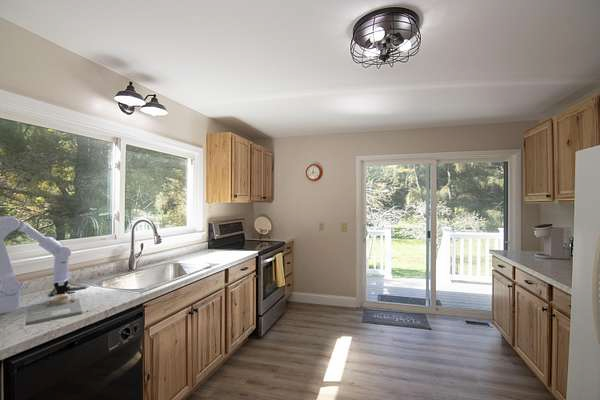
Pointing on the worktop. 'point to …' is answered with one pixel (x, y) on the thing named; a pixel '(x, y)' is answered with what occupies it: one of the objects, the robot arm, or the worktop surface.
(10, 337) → the worktop surface
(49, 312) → the slate board
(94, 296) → the worktop surface
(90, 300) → the worktop surface
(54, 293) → the door handle
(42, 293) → the worktop surface
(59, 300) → the birch block
